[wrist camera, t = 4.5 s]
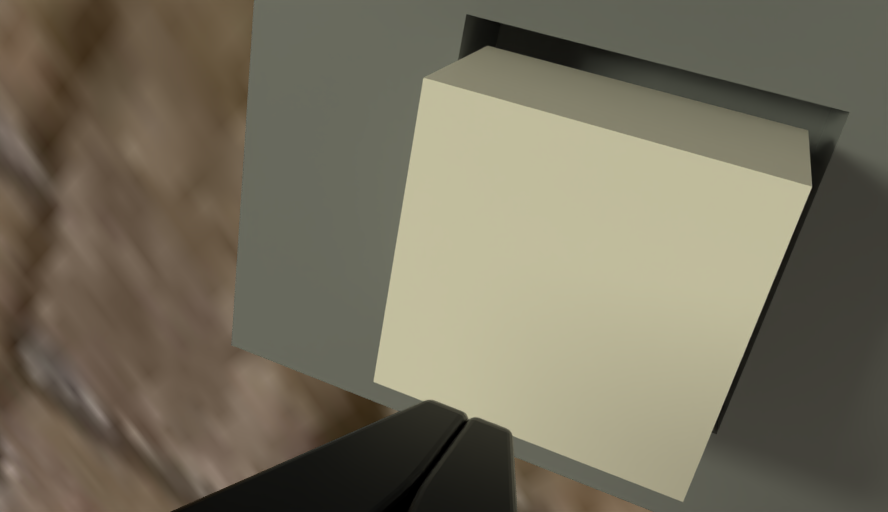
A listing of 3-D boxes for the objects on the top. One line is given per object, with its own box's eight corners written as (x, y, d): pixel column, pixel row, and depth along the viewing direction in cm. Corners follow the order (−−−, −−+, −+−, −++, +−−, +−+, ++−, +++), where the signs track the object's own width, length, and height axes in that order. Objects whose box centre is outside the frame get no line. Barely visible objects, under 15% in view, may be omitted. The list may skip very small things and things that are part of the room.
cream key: (808, 130, 12) (812, 186, 9) (700, 403, 14) (682, 502, 11) (487, 46, 13) (423, 78, 10) (435, 308, 15) (373, 381, 13)
